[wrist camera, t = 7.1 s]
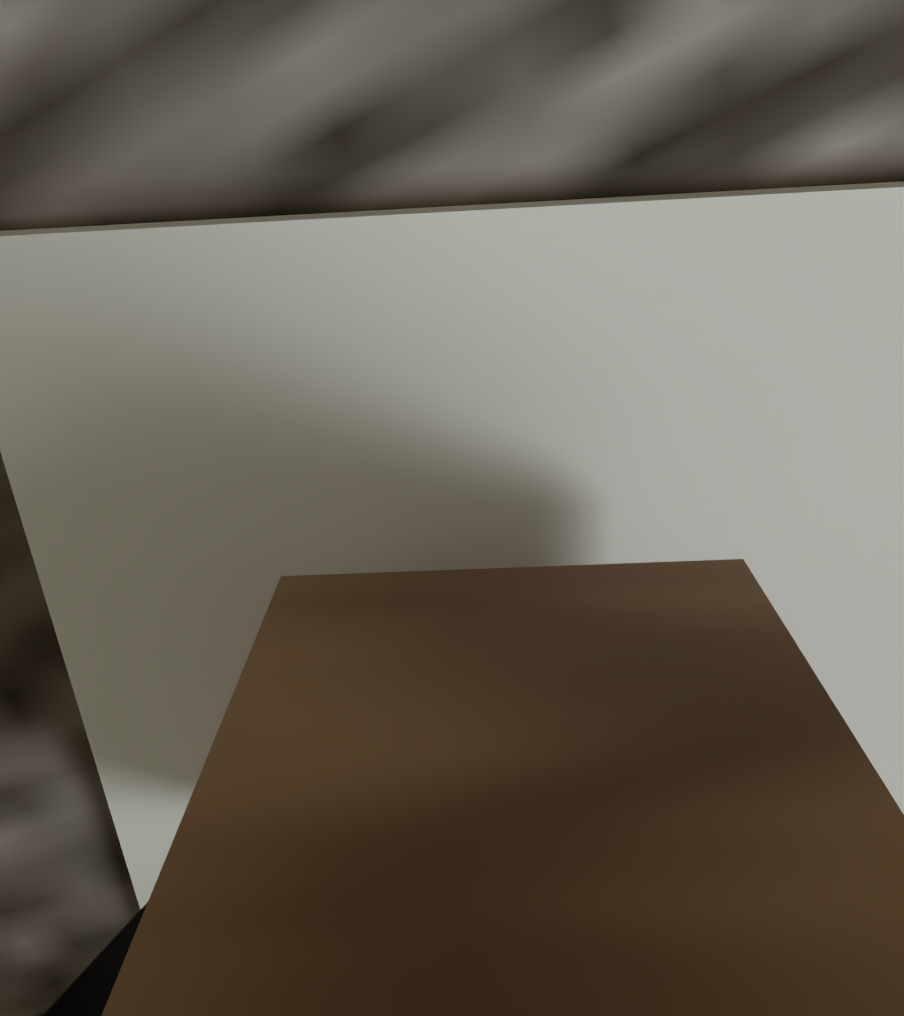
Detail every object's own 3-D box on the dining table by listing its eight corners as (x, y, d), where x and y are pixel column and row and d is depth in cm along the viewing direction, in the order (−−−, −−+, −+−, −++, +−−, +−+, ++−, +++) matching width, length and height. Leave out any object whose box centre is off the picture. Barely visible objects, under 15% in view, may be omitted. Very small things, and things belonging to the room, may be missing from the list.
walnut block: (743, 559, 9) (1179, 1255, 3) (706, 889, 11) (939, 1643, 6) (280, 576, 9) (0, 1263, 4) (332, 898, 11) (204, 1634, 6)
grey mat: (1041, 173, 9) (1078, 177, 8) (865, 929, 14) (881, 962, 14) (-35, 232, 9) (-65, 239, 9) (172, 944, 15) (160, 977, 14)
